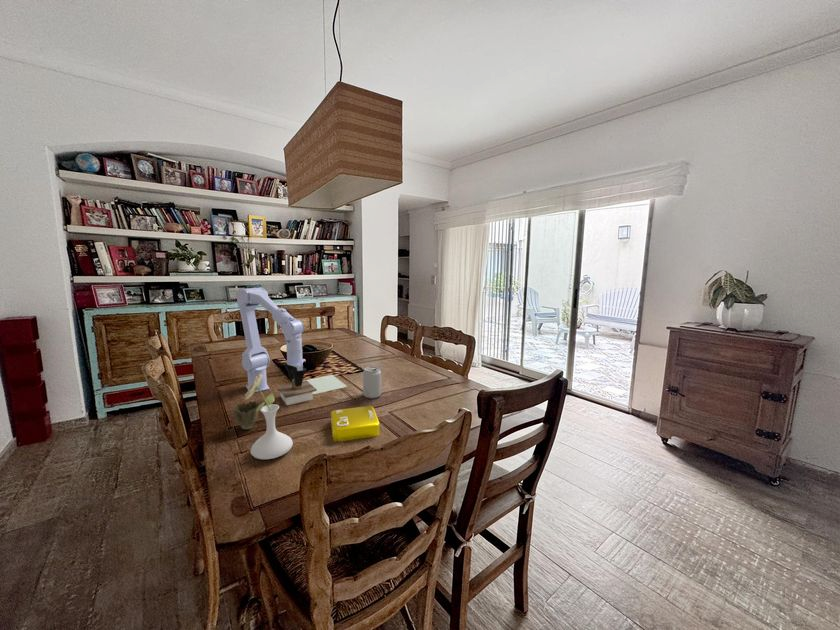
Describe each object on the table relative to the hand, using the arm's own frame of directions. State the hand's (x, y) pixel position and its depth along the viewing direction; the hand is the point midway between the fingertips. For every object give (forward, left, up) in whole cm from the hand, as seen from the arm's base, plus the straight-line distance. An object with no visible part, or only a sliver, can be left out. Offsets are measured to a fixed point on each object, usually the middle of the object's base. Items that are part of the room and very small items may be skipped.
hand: (296, 382), depth 131 cm
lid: (0, 0, -3) cm, 3 cm away
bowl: (0, 0, -7) cm, 7 cm away
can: (+14, +27, -7) cm, 31 cm away
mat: (-9, +14, -7) cm, 18 cm away
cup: (+15, -20, -7) cm, 26 cm away
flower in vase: (+34, -17, -7) cm, 39 cm away
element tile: (+34, +10, -8) cm, 37 cm away
